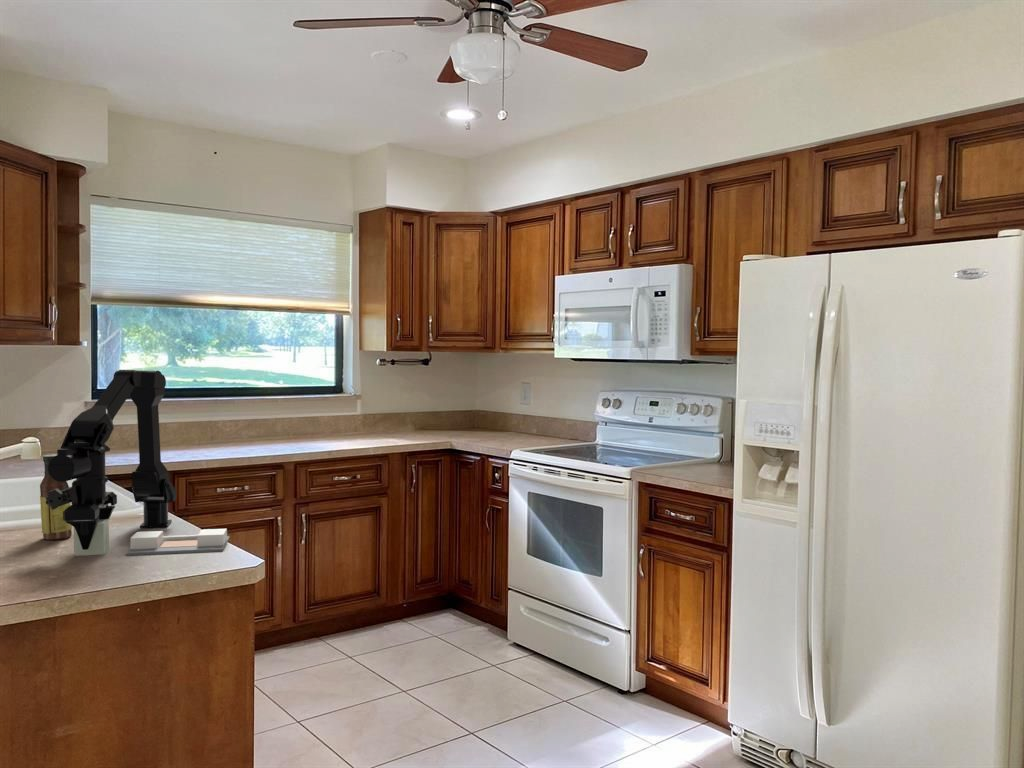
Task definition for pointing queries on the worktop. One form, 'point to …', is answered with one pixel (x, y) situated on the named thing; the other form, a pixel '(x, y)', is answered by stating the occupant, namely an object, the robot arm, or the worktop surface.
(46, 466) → the sauce bottle
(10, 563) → the worktop surface
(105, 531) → the block
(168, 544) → the rail board
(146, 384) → the robot arm
